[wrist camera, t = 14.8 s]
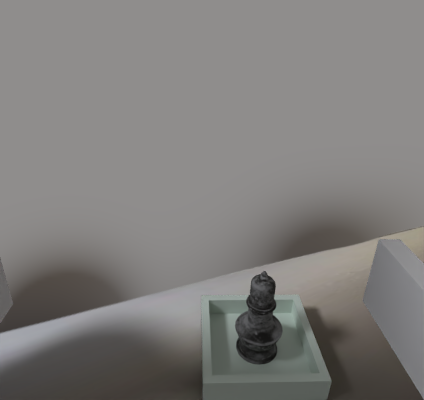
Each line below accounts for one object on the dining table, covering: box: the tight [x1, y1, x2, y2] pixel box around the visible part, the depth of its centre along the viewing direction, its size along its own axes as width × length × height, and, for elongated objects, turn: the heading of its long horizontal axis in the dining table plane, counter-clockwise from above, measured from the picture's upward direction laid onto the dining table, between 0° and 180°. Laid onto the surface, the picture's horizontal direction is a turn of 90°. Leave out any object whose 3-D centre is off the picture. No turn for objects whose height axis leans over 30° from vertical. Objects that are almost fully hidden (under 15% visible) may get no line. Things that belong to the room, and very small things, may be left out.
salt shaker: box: [235, 271, 283, 365], centre depth 43 cm, size 6×6×12 cm
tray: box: [201, 295, 332, 400], centre depth 45 cm, size 14×14×4 cm
